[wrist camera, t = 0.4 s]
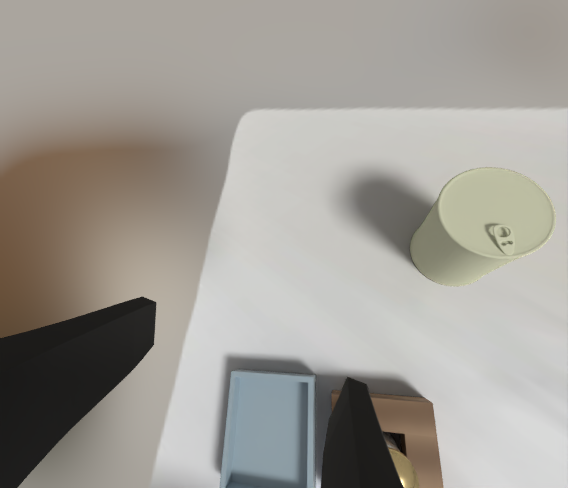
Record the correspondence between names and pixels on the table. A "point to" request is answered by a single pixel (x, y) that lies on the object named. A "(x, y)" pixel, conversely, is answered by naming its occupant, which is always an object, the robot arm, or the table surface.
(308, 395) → the tray
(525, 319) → the table surface
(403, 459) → the pin
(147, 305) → the robot arm
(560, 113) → the table surface
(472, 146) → the table surface
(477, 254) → the can
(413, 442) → the pin stand
